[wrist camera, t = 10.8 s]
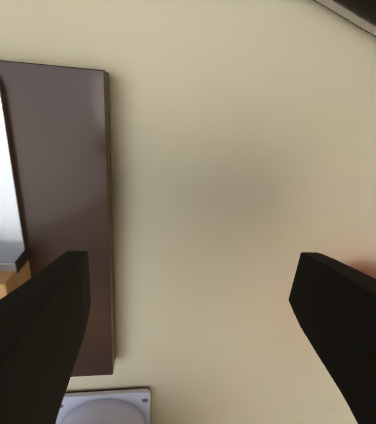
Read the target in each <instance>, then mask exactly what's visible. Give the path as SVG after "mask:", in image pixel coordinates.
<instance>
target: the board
mask: <svg viewBox="0 0 376 424" xmlns="http://www.w3.org/2000/svg"><path fill="white" fill-rule="evenodd" d="M0 82H1V84H2V87H3V91H4V97H5V103H6V110H7V116H8V123H9V130H10V136H11V143H12V149H13V156H14V163H15V169H16V176H17V182H18V189H19V196H20V202H21V209H22V215H23V222H24V229H25V235H26V242H27V247H28V251H29V257H30V258H29V264H30V270H31V277H33V276H34V275H35V274H37V273H38V272H40V271H41V270H42V269H44V268H45V267H46V266H47V265H49V264H50V263H51V262H53V261H54V260H55V259H57V258H58V257H59V256H61V255H62V254H63V253H65V252H66V251H88V260H89V277H90V293H91V306H90V312H89V317H88V322H87V326H86V331H85V335H84V338H83V341H82V344H81V347H80V350H79V353H78V356H77V359H76V362H75V365H74V368H73V371H72V374H71V377H74V376H93V375H112V374H113V370H114V363H115V329H114V286H113V242H112V199H111V155H110V112H109V73H108V72H106V71H104V70H96V69H86V68H75V67H65V66H55V65H44V64H34V63H24V62H13V61H3V60H0Z"/></svg>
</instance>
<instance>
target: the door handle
mask: <svg viewBox="0 0 376 424" xmlns="http://www.w3.org/2000/svg"><path fill="white" fill-rule="evenodd" d="M316 1H317V2H319V3H321V4H322V5H324V6H326V7H327V8H329V9H331V10H332V11H334V12H336V13H338V14H339V15H341V16H343V17H344V18H346V19H348V20H349V21H351V22H353V23H354V24H356V25H358V26H359V27H361V28H363V29H364V30H366V31H368V32H369V33H371V34H373V35H374V36H376V0H316Z"/></svg>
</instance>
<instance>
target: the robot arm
mask: <svg viewBox="0 0 376 424" xmlns="http://www.w3.org/2000/svg"><path fill="white" fill-rule="evenodd" d="M289 302H290V304H291V306H292V309H293V311H294V314H295V316H296V318H297V320H298V322H299V324H300V326H301V328H302V330H303V331H304V333H305V335H306V336H307V338H308V340H309V341H310V343H311V345H312V346H313V348H314V349H315V351H316V353H317V354H318V356H319V357H320V359H321V361H322V362H323V364H324V365H325V367H326V369H327V370H328V372H329V374H330V375H331V377H332V378H333V380H334V382H335V383H336V385H337V386H338V388H339V390H340V391H341V393H342V395H343V397H344V398H345V400H346V402H347V403H348V405H349V407H350V409H351V411H352V413H353V415H354V417H355V419H356V421H357V423H358V424H376V279H374V278H372V277H370V276H368V275H366V274H364V273H362V272H360V271H358V270H356V269H354V268H352V267H350V266H348V265H346V264H343V263H341V262H339V261H337V260H335V259H333V258H330V257H328V256H325V255H323V254H320V253H310V252H301V255H300V259H299V263H298V266H297V270H296V274H295V278H294V282H293V285H292V289H291V293H290V297H289ZM90 306H91V293H90V277H89V260H88V251H66V252H65V253H63V254H62V255H61V256H59V257H58V258H57V259H55V260H54V261H53V262H51V263H50V264H49V265H47V266H46V267H45V268H44V269H42V270H41V271H40V272H38V273H37V274H35V275H34V276H33V277H31V278H30V279H29V280H27V281H26V282H25V283H23V284H22V285H21V286H19V287H18V288H16V289H15V290H13V291H12V292H10V293H9V294H7V295H6V296H4V297H3V298H1V299H0V424H150V403H151V391H150V390H149V389H129V390H113V391H96V392H80V393H65V392H66V389H67V386H68V383H69V380H70V377H71V374H72V371H73V368H74V365H75V362H76V359H77V356H78V353H79V350H80V347H81V344H82V341H83V338H84V335H85V331H86V326H87V322H88V317H89V312H90Z"/></svg>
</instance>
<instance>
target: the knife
mask: <svg viewBox="0 0 376 424" xmlns="http://www.w3.org/2000/svg"><path fill="white" fill-rule="evenodd" d="M29 258H30V257H29V251H28V247H27V242H26V235H25V229H24V222H23V215H22V209H21V202H20V196H19V189H18V182H17V176H16V169H15V163H14V156H13V149H12V143H11V136H10V130H9V123H8V116H7V110H6V103H5V97H4V91H3V87H2V84H1V82H0V299H1V298H3V297H4V296H6V295H7V294H9V293H10V292H12V291H13V290H15V289H16V288H18V287H19V286H21V285H22V284H23V283H25V282H26V281H27V280H29V279H30V278H31V270H30V264H29Z"/></svg>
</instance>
